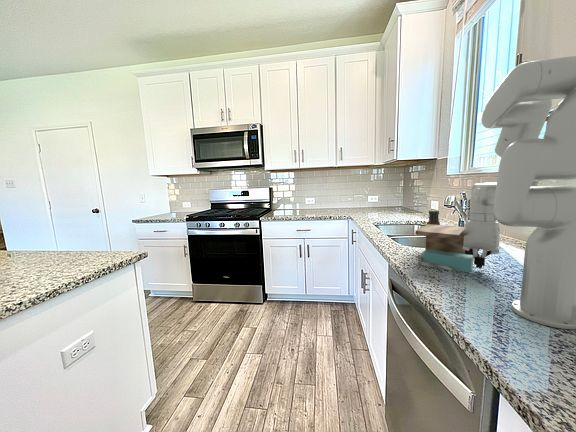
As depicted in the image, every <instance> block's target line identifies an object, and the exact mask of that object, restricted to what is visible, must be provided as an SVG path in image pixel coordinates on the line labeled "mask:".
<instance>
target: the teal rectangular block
mask: <svg viewBox="0 0 576 432" xmlns="http://www.w3.org/2000/svg"><path fill="white" fill-rule="evenodd" d="M422 254H423V262H427V263H433V264H439V265H444V266H450V267H453V268H452V270H454V271H460V272H465V273H471V272H472V270H473V267H474V258H475V257H474V256H473V255H467V254H460V253H452V252H445V251H438V250H431V249H425V250H423V251H422Z"/></svg>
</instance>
